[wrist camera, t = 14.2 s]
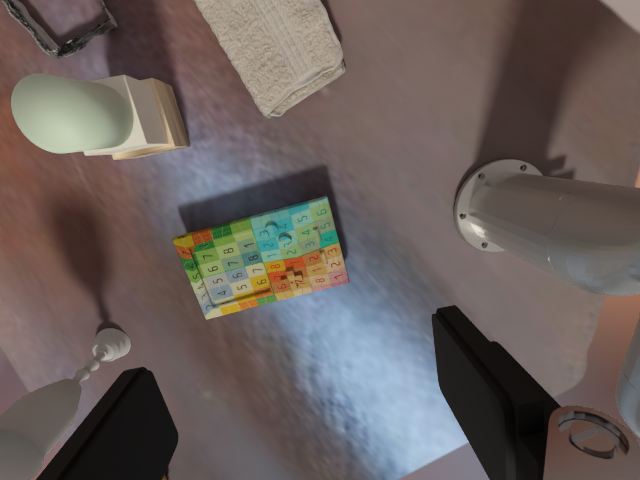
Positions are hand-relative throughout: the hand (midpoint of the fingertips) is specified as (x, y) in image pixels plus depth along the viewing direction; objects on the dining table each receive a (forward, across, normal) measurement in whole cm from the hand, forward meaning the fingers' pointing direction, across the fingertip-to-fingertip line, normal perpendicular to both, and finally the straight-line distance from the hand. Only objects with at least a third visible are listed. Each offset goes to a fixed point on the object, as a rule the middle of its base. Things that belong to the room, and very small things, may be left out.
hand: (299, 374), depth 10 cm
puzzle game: (+34, +6, +6) cm, 35 cm away
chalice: (+34, +32, +15) cm, 49 cm away
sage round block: (+23, +16, -13) cm, 31 cm away
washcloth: (+34, 0, -21) cm, 40 cm away
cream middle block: (+28, +16, -13) cm, 35 cm away
